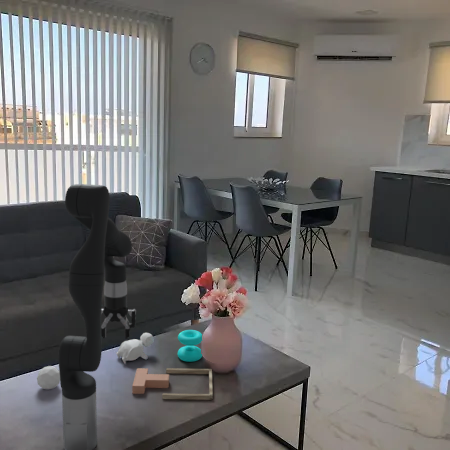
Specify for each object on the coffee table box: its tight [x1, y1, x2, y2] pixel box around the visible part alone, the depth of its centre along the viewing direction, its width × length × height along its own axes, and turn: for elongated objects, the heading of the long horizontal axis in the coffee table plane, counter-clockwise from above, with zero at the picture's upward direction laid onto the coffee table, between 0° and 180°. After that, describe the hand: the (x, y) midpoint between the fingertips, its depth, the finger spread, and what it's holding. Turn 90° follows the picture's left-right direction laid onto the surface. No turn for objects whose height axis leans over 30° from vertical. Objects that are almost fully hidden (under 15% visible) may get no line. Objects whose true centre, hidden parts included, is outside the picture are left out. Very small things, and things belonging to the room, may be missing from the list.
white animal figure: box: [115, 332, 155, 365], centre depth 192 cm, size 9×8×15 cm
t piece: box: [131, 367, 170, 395], centre depth 173 cm, size 12×12×3 cm
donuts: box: [177, 329, 203, 363], centre depth 193 cm, size 10×10×10 cm
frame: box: [161, 367, 214, 401], centre depth 174 cm, size 18×17×2 cm
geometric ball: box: [36, 365, 60, 391], centre depth 168 cm, size 8×8×8 cm
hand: (115, 337), depth 169 cm, fingers open, 7 cm apart
